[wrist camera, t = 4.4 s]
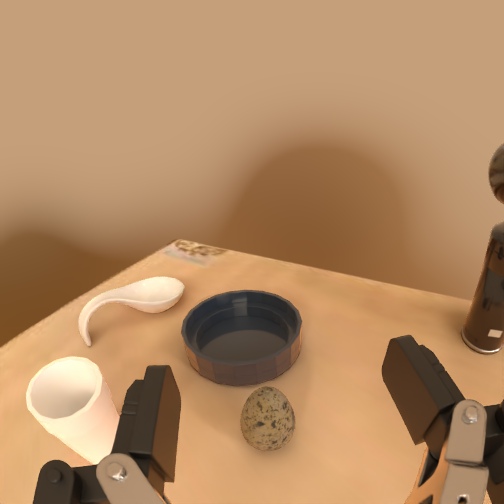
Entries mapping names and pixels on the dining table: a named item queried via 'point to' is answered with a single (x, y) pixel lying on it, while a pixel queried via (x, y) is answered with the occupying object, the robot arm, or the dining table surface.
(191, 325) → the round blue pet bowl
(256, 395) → the decorative egg
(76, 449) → the foam cup
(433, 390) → the robot arm
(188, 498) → the dining table surface
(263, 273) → the dining table surface
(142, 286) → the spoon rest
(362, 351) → the dining table surface
